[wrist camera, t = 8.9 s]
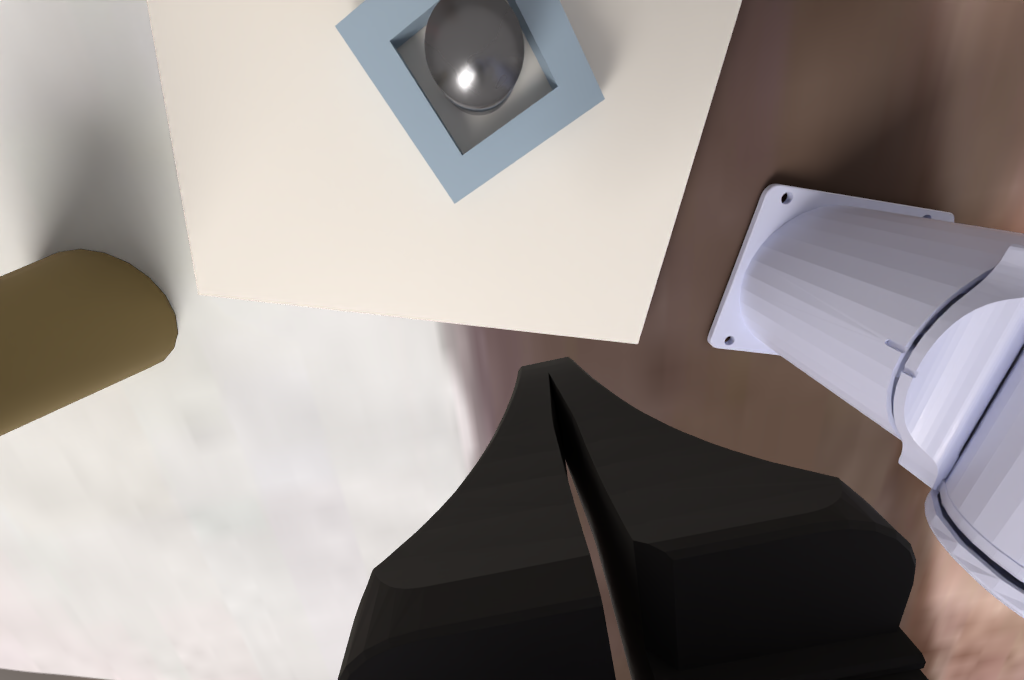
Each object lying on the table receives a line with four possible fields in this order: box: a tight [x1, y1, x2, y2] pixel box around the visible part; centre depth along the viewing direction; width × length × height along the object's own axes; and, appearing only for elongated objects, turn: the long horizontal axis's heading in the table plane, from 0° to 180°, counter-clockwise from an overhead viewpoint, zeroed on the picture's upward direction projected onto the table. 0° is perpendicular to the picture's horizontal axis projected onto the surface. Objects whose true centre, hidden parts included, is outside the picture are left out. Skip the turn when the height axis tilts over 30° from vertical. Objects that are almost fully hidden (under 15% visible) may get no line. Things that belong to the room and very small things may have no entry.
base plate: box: [146, 0, 742, 344], centre depth 15 cm, size 20×22×1 cm
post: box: [424, 0, 524, 115], centre depth 14 cm, size 3×3×5 cm
